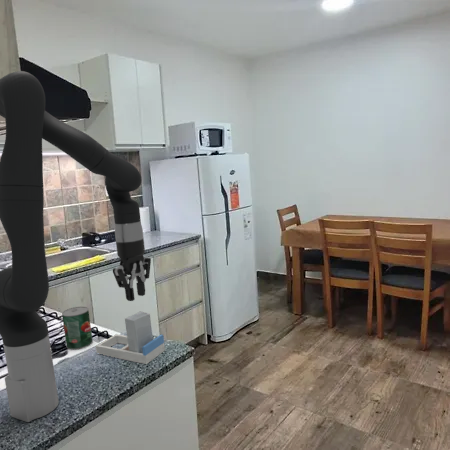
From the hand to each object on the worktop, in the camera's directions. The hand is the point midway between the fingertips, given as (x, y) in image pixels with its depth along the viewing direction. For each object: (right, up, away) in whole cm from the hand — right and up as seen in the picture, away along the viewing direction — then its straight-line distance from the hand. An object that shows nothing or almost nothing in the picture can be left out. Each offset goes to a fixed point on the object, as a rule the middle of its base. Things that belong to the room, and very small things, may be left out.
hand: (136, 297), depth 113 cm
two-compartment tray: (-3, -17, +5) cm, 18 cm away
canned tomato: (-21, -17, +13) cm, 30 cm away
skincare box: (+1, -17, +2) cm, 17 cm away
